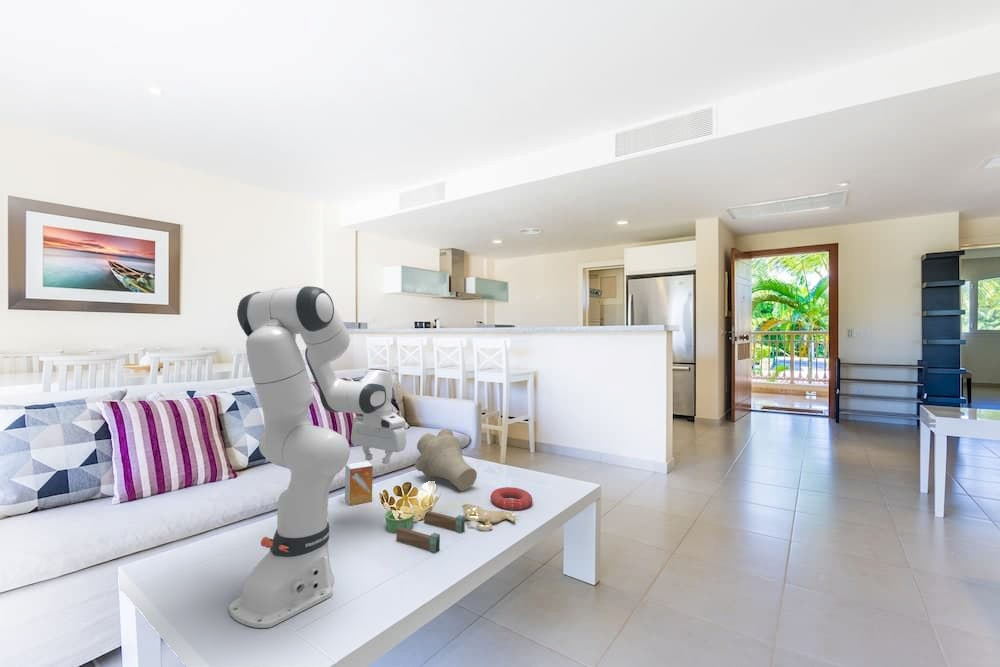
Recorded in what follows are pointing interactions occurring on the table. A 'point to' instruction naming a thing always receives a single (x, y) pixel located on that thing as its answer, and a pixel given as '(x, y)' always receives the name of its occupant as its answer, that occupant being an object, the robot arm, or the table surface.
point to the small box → (358, 483)
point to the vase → (444, 459)
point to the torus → (511, 504)
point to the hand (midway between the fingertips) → (377, 461)
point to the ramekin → (397, 522)
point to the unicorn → (485, 516)
